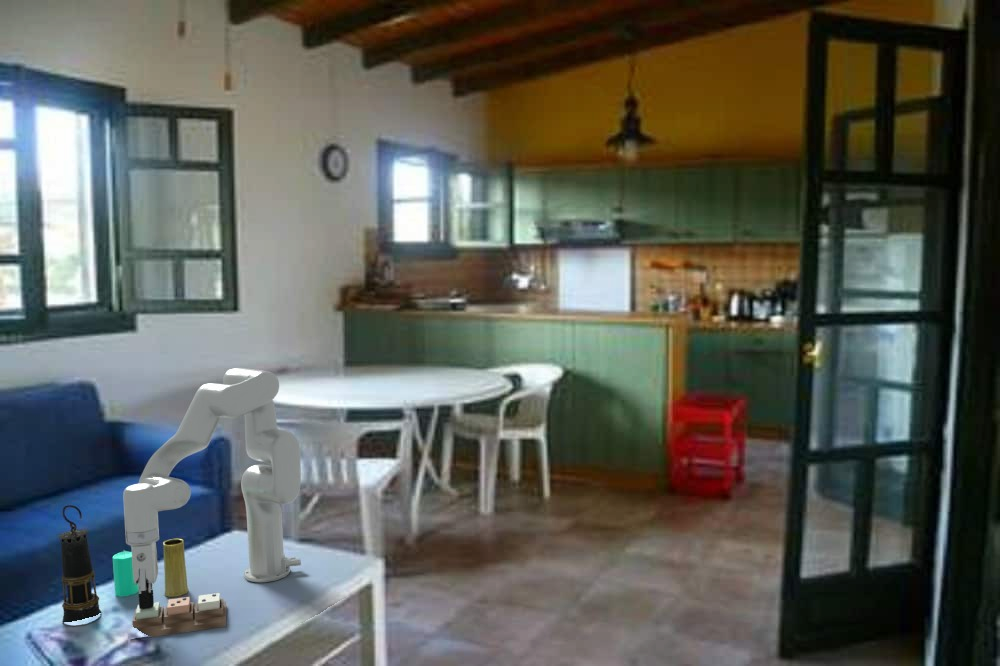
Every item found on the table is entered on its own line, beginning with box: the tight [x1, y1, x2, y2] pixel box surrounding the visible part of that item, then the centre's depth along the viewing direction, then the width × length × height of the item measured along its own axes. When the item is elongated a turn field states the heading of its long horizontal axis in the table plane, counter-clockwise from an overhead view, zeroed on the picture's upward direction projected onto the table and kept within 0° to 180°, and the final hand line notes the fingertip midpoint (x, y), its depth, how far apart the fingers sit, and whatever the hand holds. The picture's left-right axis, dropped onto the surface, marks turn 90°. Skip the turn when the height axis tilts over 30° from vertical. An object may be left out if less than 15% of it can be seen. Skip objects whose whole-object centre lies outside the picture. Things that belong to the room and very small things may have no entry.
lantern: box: [57, 504, 102, 623], centre depth 222 cm, size 9×9×30 cm
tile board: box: [131, 597, 227, 638], centre depth 220 cm, size 22×12×4 cm, turn 107°
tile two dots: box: [197, 592, 221, 611], centre depth 222 cm, size 5×5×3 cm
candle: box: [111, 550, 139, 597], centre depth 239 cm, size 6×6×12 cm
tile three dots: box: [166, 596, 191, 615], centre depth 220 cm, size 5×5×3 cm
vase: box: [162, 538, 189, 598], centre depth 238 cm, size 6×6×14 cm
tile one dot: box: [135, 601, 161, 620], centre depth 218 cm, size 5×5×3 cm
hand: (146, 606), depth 218 cm, fingers closed
